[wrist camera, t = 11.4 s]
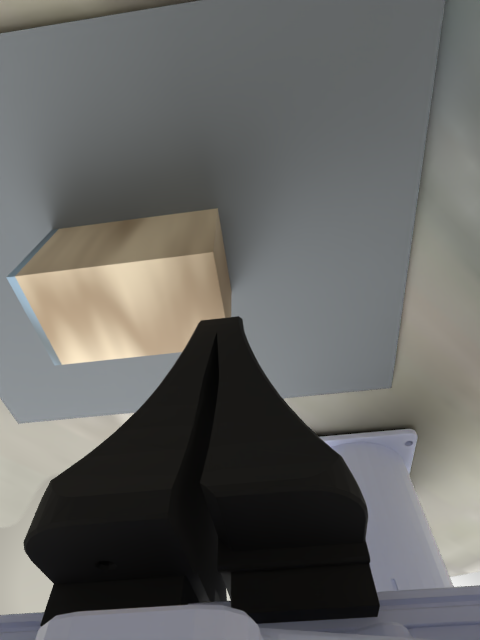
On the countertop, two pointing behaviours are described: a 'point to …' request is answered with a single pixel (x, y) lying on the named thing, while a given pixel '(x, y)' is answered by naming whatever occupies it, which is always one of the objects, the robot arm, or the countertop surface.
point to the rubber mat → (225, 176)
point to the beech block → (125, 286)
